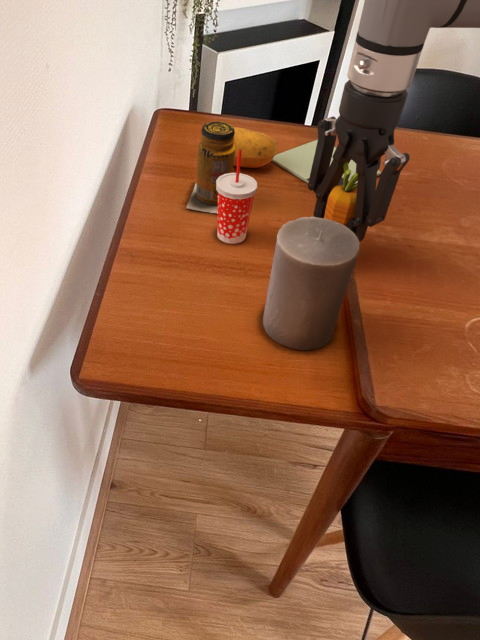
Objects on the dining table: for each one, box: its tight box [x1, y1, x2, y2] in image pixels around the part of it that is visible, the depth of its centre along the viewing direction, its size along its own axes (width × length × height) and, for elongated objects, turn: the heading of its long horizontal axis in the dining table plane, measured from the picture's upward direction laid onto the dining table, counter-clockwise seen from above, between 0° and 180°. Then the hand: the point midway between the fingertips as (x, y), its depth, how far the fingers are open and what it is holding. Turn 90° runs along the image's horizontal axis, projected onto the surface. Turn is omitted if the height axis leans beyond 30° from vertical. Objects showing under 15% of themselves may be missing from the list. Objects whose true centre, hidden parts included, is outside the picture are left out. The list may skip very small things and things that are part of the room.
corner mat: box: [271, 139, 382, 185], centre depth 100 cm, size 16×14×1 cm
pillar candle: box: [262, 216, 361, 351], centre depth 66 cm, size 10×10×15 cm
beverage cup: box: [216, 149, 258, 245], centre depth 79 cm, size 6×6×14 cm
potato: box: [233, 126, 279, 169], centre depth 97 cm, size 8×14×7 cm, turn 67°
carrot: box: [324, 162, 358, 227], centre depth 76 cm, size 5×5×15 cm
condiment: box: [186, 120, 235, 214], centre depth 86 cm, size 7×8×12 cm
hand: (332, 247), depth 80 cm, fingers closed on carrot, 5 cm apart
